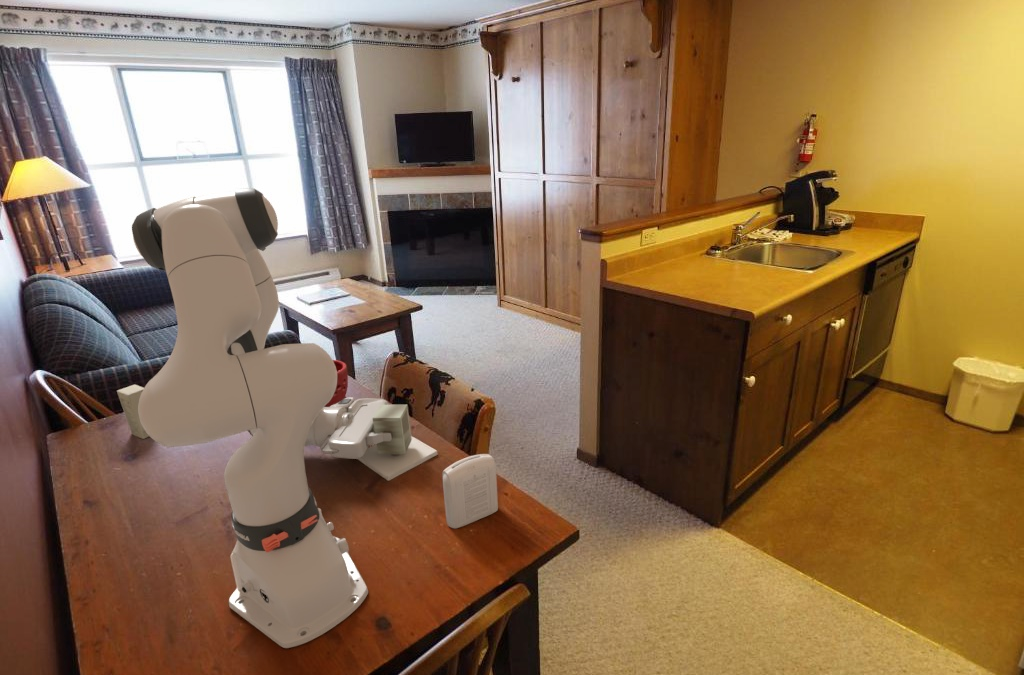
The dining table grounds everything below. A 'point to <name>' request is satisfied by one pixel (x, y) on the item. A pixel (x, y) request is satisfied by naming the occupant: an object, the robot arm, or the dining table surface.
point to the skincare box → (132, 409)
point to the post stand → (397, 459)
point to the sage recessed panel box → (393, 428)
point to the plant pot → (339, 383)
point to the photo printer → (470, 490)
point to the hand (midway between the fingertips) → (396, 427)
